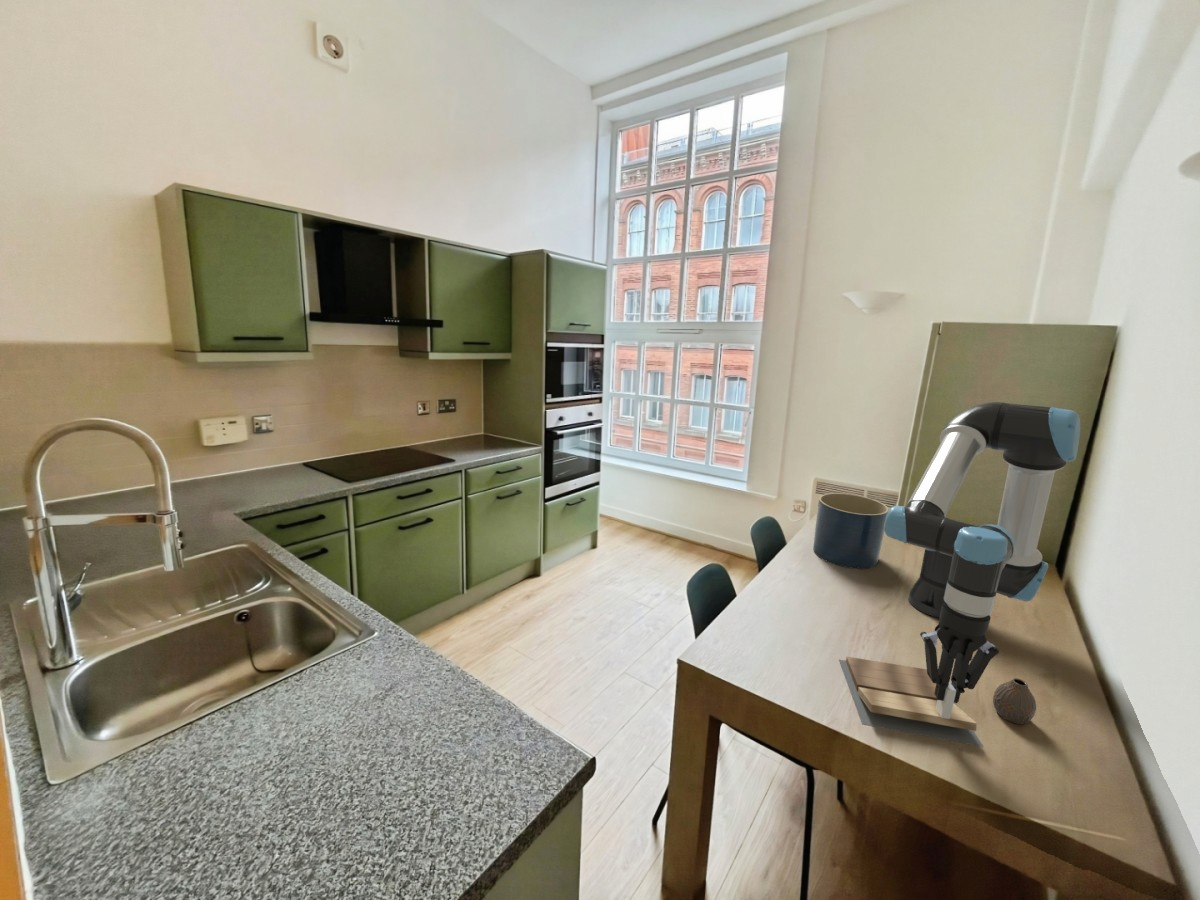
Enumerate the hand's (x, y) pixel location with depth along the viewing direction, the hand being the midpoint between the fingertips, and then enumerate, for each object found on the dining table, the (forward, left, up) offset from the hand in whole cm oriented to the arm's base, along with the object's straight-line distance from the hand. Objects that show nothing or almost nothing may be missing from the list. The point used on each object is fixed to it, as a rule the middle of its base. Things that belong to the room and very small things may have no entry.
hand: (942, 713), depth 99 cm
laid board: (+4, -13, -4) cm, 15 cm away
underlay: (+4, -8, -5) cm, 10 cm away
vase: (-17, -9, -5) cm, 20 cm away
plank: (+4, -3, -3) cm, 6 cm away
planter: (-1, -84, -5) cm, 84 cm away
